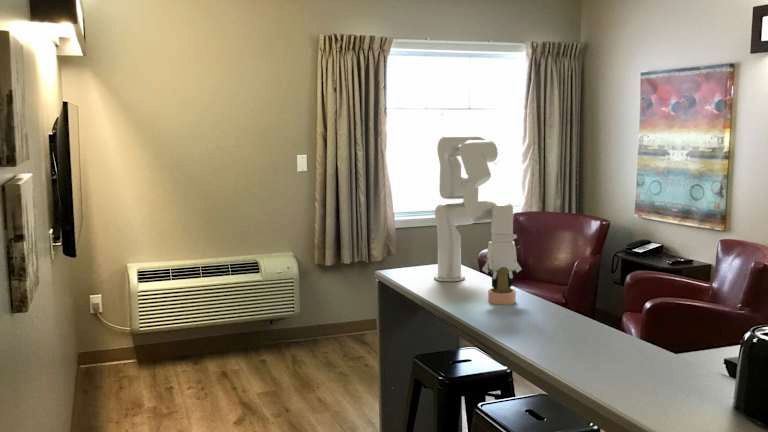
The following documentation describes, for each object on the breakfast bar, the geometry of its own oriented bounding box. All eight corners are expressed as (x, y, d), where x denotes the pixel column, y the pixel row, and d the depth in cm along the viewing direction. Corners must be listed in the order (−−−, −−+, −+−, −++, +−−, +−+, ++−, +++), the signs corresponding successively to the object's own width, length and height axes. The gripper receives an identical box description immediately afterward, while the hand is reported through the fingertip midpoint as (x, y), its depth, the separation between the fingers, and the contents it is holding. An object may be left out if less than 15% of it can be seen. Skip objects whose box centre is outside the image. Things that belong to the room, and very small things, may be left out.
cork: (509, 293, 248) (509, 263, 247) (511, 297, 242) (511, 266, 241) (492, 292, 249) (492, 262, 247) (493, 297, 243) (493, 266, 241)
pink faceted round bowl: (486, 298, 250) (486, 287, 249) (511, 297, 251) (511, 287, 250) (492, 305, 241) (492, 293, 240) (518, 304, 241) (518, 292, 241)
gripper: (522, 236, 247) (521, 285, 250) (476, 237, 246) (476, 287, 248) (528, 239, 240) (527, 290, 242) (480, 240, 239) (480, 292, 241)
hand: (501, 288), depth 245 cm, fingers closed on cork, 4 cm apart
